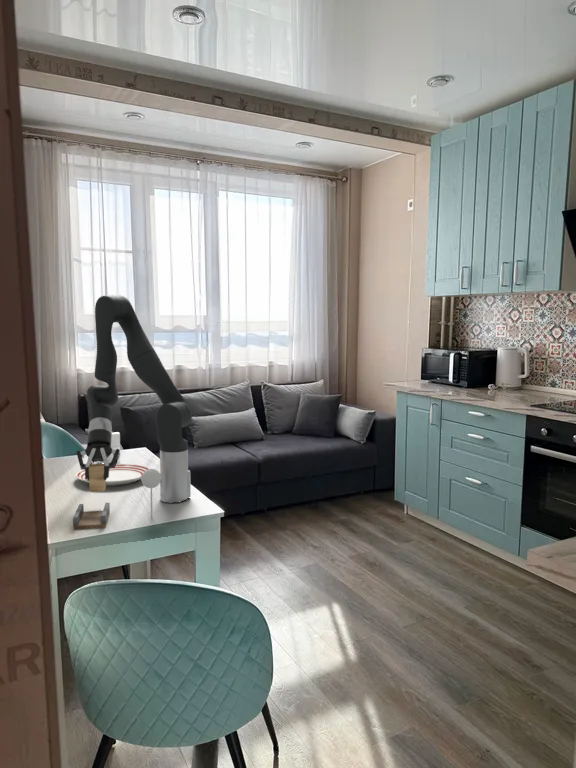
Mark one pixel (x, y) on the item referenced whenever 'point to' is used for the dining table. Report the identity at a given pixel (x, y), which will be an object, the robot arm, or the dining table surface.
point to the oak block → (97, 478)
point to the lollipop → (151, 480)
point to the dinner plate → (119, 474)
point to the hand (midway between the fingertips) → (96, 478)
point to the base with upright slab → (114, 445)
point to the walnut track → (91, 518)
